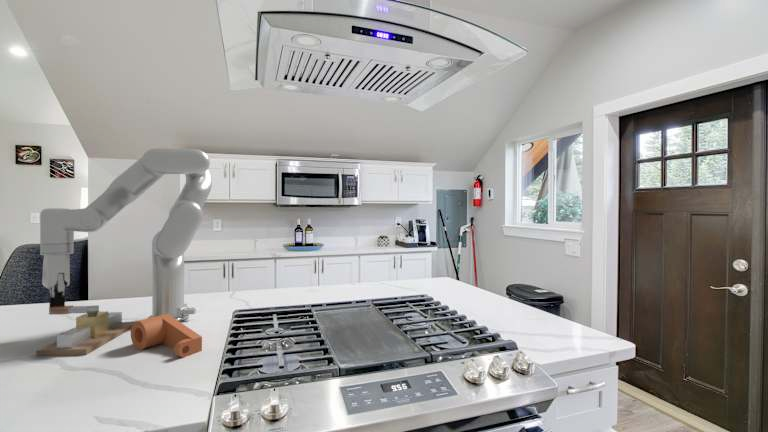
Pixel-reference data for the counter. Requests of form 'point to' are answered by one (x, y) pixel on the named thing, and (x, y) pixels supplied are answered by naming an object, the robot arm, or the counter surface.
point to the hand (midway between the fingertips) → (57, 309)
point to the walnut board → (86, 343)
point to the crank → (165, 335)
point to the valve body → (88, 328)
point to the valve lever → (73, 309)
